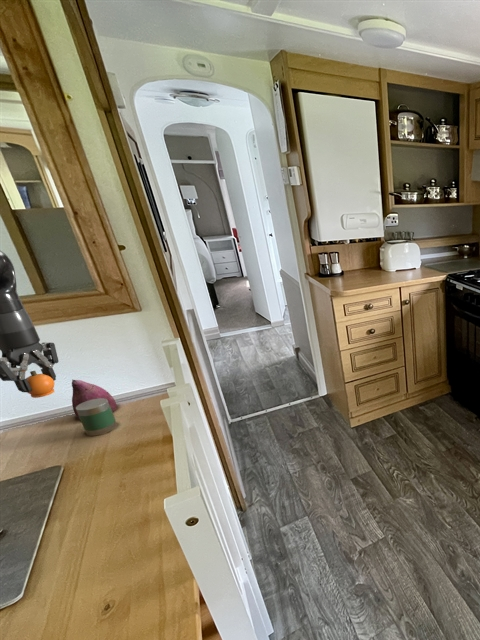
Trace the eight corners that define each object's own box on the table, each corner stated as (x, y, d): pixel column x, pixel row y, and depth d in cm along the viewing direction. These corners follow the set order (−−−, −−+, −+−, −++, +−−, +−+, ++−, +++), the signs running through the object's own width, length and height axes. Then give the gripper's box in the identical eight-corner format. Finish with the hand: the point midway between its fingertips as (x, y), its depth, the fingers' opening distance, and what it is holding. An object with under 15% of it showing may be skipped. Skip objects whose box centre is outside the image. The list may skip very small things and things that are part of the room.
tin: (79, 435, 113) (68, 410, 110) (100, 422, 120) (90, 397, 116) (103, 436, 113) (92, 410, 110) (123, 423, 120) (114, 398, 116)
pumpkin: (21, 399, 101) (9, 376, 98) (43, 388, 106) (32, 366, 103) (42, 399, 101) (32, 376, 98) (64, 388, 106) (54, 366, 104)
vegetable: (93, 430, 121) (64, 397, 112) (72, 419, 124) (43, 387, 115) (127, 408, 129) (103, 376, 120) (107, 399, 132) (82, 366, 122)
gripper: (27, 319, 103) (52, 374, 109) (-38, 337, 89) (-5, 399, 96) (54, 319, 103) (78, 374, 109) (-6, 337, 90) (25, 399, 96)
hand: (39, 385), depth 102 cm, fingers closed on pumpkin, 5 cm apart
